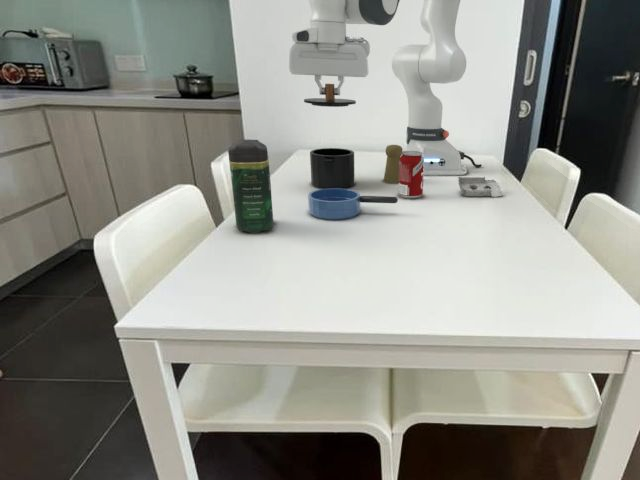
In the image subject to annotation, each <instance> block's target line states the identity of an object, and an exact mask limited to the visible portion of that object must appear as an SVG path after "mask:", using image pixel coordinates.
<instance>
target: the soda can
mask: <svg viewBox="0 0 640 480" xmlns="http://www.w3.org/2000/svg"><path fill="white" fill-rule="evenodd" d="M424 176H425V175H424V158H423V156H422V152H419V151H406V150H403V151H402V155H401V157H400V159H399V183H398V193H397V194H398V195H399V196H400V197H402V198H403V199H411V200H412V199H413V200H414V199H419V198H420V197H422V196H423V194H424V193H423V192H424Z"/></svg>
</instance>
